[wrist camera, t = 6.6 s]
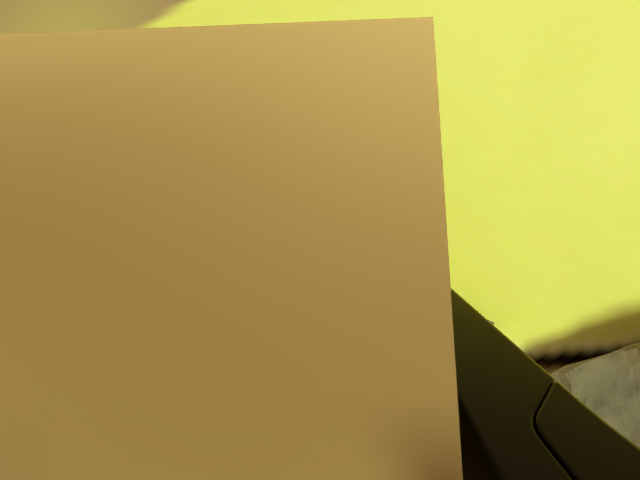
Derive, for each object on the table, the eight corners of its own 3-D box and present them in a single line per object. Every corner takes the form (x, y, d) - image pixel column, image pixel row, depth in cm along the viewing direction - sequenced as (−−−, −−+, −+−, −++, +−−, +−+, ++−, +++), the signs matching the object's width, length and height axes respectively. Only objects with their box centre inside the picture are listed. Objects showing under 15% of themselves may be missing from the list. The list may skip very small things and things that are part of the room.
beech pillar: (372, 451, 16) (484, 818, 2) (235, 450, 16) (-380, 781, 3) (369, 313, 17) (433, 16, 3) (240, 314, 17) (-180, 43, 4)
